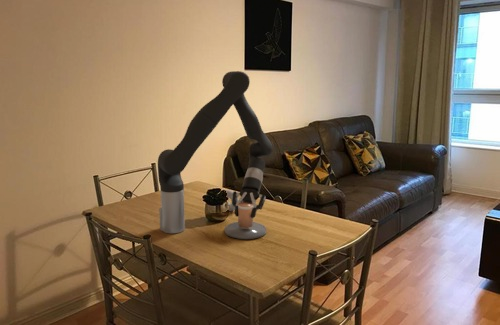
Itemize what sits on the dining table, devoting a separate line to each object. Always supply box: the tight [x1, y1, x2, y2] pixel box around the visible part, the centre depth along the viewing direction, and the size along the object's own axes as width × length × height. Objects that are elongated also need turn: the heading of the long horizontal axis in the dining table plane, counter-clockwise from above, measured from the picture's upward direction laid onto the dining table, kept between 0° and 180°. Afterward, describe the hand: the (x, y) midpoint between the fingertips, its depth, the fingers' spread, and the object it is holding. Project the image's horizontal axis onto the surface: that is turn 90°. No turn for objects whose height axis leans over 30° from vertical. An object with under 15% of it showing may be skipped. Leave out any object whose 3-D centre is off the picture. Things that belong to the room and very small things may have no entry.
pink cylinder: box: [237, 202, 254, 228], centre depth 169 cm, size 6×6×9 cm
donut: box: [225, 189, 239, 212], centre depth 195 cm, size 10×4×10 cm, turn 50°
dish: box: [224, 221, 267, 240], centre depth 171 cm, size 17×17×1 cm
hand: (244, 216), depth 168 cm, fingers closed on pink cylinder, 6 cm apart
